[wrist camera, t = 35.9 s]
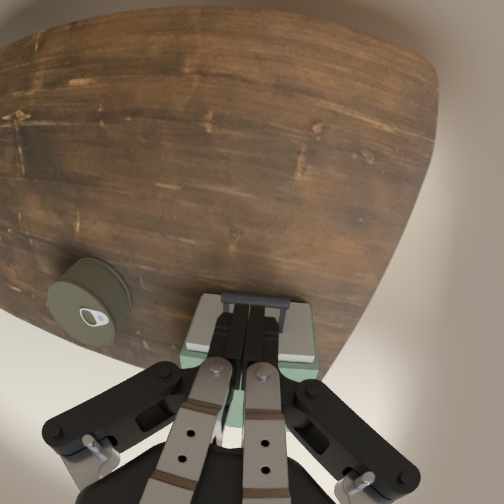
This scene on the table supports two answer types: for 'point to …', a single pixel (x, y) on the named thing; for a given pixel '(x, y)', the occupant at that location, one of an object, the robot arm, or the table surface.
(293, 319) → the drawer
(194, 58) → the table surface
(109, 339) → the can
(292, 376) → the mint green cabinet box
